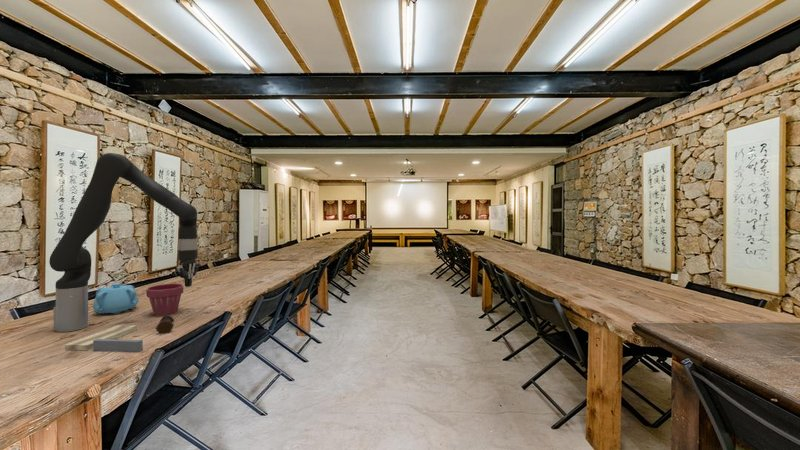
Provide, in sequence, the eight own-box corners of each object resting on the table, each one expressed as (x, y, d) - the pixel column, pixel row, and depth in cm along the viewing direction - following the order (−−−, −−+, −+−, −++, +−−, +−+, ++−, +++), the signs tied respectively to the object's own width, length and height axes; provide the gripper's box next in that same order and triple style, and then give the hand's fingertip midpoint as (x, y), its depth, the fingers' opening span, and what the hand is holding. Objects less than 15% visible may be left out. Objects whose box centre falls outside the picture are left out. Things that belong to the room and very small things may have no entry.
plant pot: (144, 319, 143) (144, 291, 142) (148, 311, 154) (148, 285, 154) (183, 314, 150) (183, 287, 150) (183, 307, 162) (183, 282, 162)
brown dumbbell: (169, 326, 139) (166, 336, 126) (157, 322, 137) (153, 332, 124) (177, 314, 141) (175, 322, 128) (165, 310, 138) (162, 318, 126)
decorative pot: (137, 312, 152) (137, 284, 152) (90, 318, 142) (90, 288, 142) (138, 305, 165) (139, 279, 165) (96, 309, 155) (96, 282, 155)
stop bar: (93, 350, 109) (93, 340, 109) (97, 348, 111) (97, 338, 111) (138, 351, 109) (138, 341, 109) (142, 349, 110) (142, 339, 110)
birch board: (65, 349, 109) (65, 344, 109) (117, 329, 129) (117, 325, 129) (87, 350, 109) (87, 345, 109) (137, 329, 129) (137, 325, 129)
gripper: (189, 247, 151) (190, 283, 151) (168, 250, 138) (169, 289, 138) (205, 247, 151) (205, 283, 151) (185, 250, 137) (186, 289, 138)
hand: (188, 286), depth 145 cm, fingers closed
